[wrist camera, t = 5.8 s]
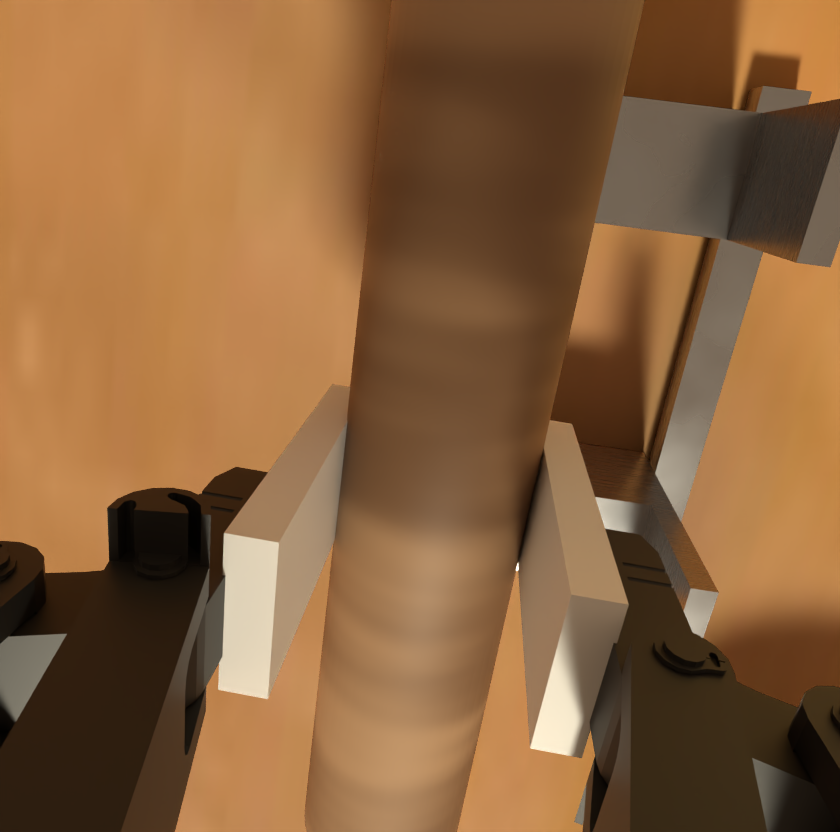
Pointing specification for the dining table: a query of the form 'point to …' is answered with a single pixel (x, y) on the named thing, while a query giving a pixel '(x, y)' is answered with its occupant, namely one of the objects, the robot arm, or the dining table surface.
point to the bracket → (710, 278)
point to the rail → (454, 382)
